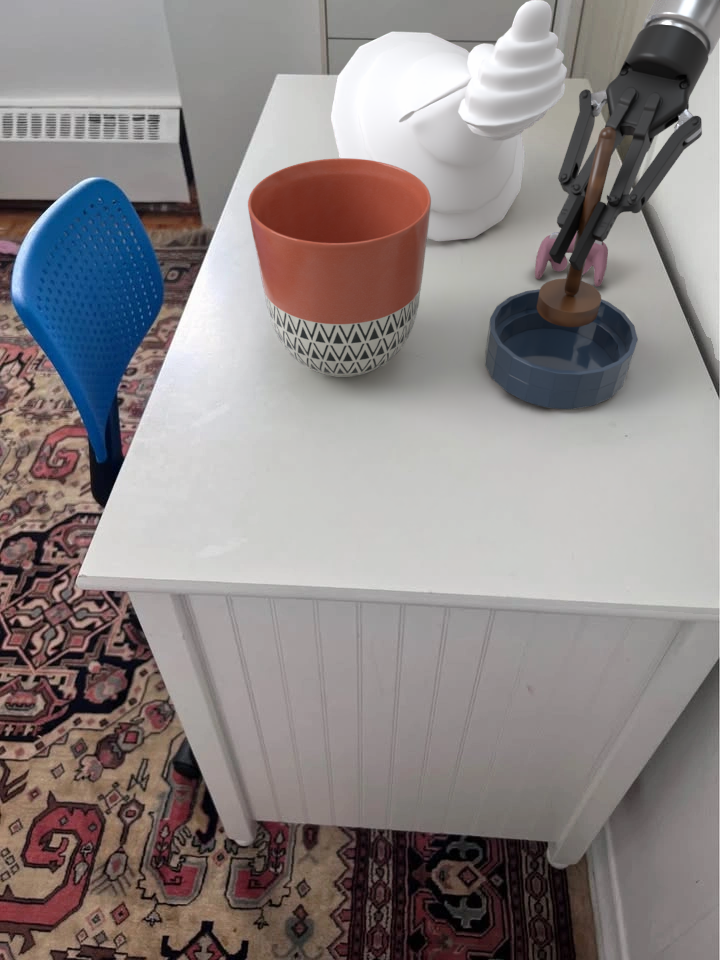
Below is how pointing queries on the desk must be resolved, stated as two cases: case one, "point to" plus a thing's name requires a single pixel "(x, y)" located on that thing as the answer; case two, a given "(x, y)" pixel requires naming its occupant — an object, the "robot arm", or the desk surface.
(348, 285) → the planter
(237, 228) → the desk surface
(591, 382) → the bowl
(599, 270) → the video game controller
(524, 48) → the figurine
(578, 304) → the masher
